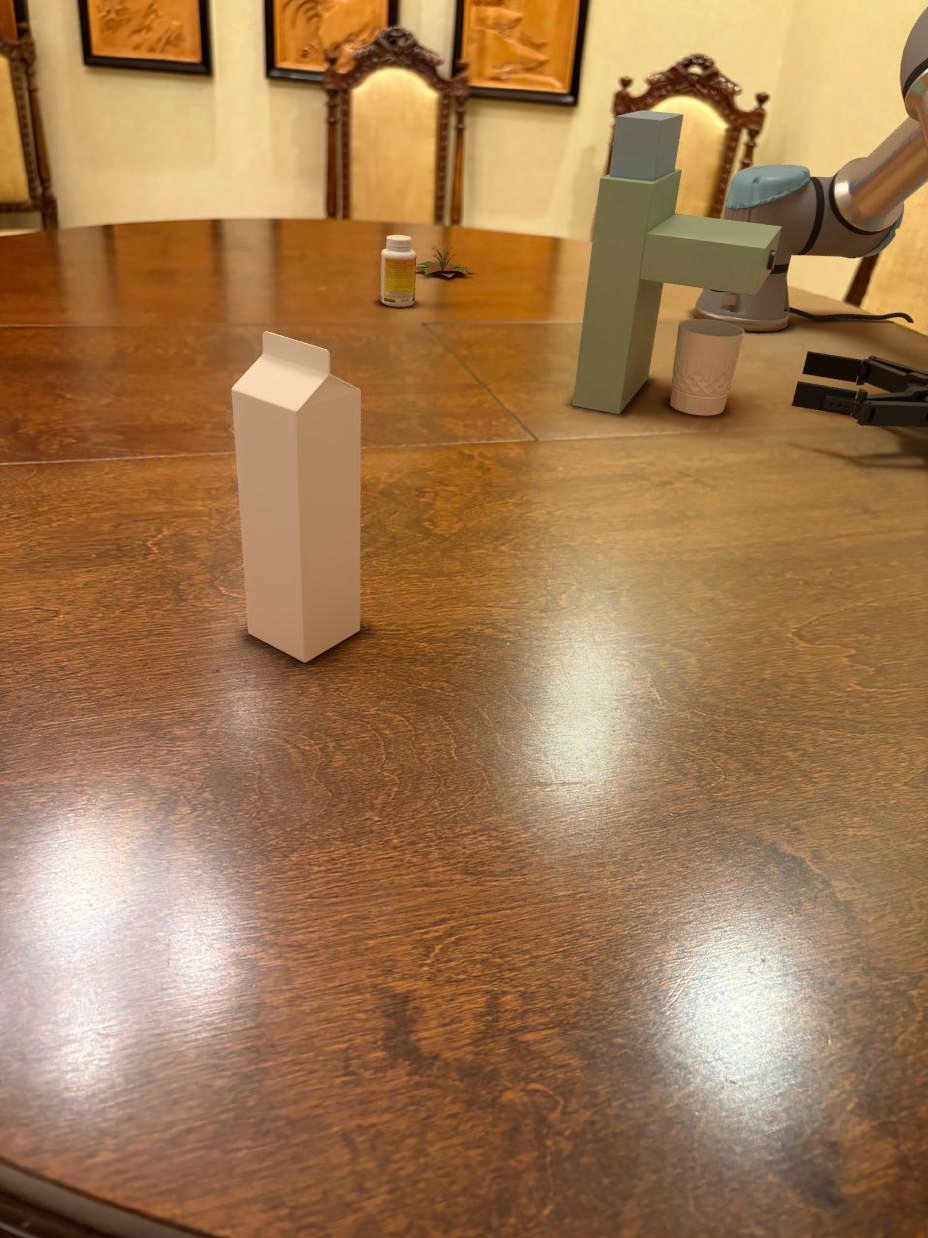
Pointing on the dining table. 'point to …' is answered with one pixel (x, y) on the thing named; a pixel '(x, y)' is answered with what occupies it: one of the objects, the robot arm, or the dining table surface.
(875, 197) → the robot arm
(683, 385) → the beige cup
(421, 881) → the dining table surface
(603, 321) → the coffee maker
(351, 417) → the milk
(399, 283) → the supplement bottle
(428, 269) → the green leafy plant
